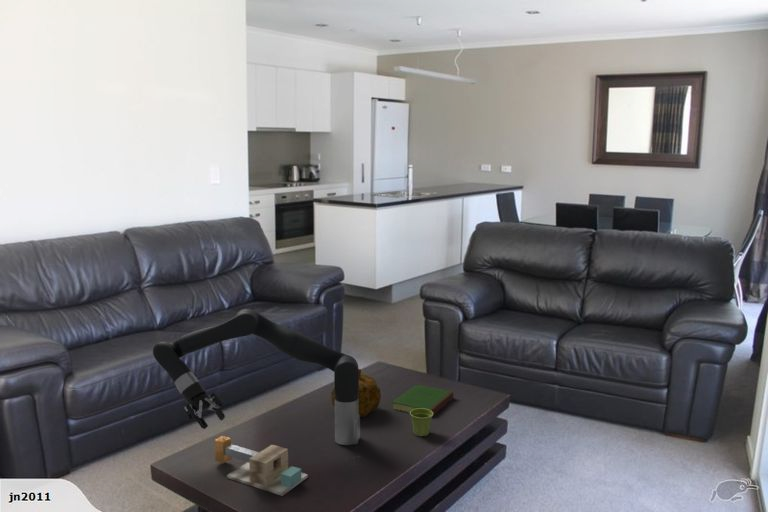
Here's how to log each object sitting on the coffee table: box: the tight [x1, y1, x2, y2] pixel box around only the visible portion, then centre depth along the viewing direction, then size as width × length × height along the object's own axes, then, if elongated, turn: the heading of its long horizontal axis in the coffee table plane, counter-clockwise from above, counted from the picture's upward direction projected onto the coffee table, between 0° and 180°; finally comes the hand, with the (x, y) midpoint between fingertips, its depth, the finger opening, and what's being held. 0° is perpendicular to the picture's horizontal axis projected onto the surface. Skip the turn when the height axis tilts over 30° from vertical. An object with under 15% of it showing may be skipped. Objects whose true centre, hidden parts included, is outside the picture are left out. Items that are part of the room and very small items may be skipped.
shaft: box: [214, 435, 260, 464], centre depth 224 cm, size 23×4×8 cm, turn 61°
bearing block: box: [249, 444, 289, 486], centre depth 219 cm, size 7×12×9 cm, turn 151°
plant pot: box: [409, 408, 433, 437], centre depth 254 cm, size 9×9×9 cm
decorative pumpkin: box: [330, 368, 382, 418], centre depth 273 cm, size 20×21×20 cm
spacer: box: [281, 465, 302, 488], centre depth 214 cm, size 4×6×4 cm
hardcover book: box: [391, 384, 454, 417], centre depth 285 cm, size 25×19×4 cm
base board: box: [226, 462, 309, 497], centre depth 220 cm, size 24×14×1 cm, turn 61°
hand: (214, 423), depth 229 cm, fingers open, 8 cm apart
